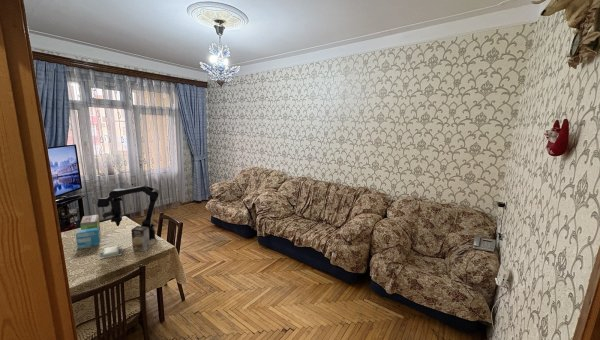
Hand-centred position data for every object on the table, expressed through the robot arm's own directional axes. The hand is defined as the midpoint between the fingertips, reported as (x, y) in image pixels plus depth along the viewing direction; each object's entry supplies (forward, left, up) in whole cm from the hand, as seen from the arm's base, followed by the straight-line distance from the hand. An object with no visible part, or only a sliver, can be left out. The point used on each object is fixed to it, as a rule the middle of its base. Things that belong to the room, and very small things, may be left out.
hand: (117, 226), depth 187 cm
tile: (+4, +12, -11) cm, 17 cm away
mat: (+4, +18, -12) cm, 22 cm away
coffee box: (-14, +19, -13) cm, 26 cm away
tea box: (+18, -18, -13) cm, 28 cm away
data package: (+18, -2, -13) cm, 22 cm away
